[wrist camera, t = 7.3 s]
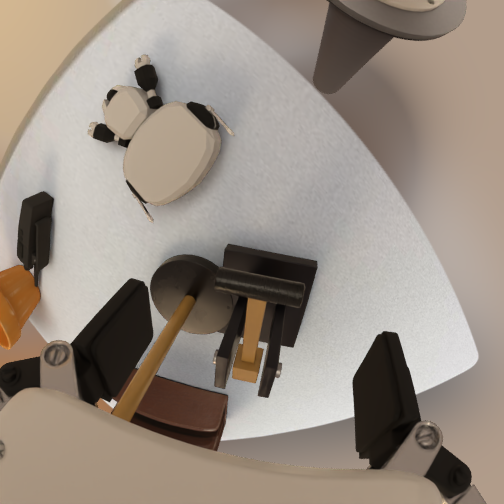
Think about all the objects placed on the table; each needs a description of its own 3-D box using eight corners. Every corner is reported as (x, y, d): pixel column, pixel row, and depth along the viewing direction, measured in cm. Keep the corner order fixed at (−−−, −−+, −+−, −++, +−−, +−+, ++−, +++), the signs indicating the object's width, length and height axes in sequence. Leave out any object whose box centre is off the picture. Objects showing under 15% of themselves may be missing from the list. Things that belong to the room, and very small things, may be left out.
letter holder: (226, 420, 48) (208, 480, 35) (135, 393, 50) (107, 443, 37) (229, 394, 43) (207, 464, 31) (126, 363, 45) (90, 419, 33)
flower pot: (60, 311, 43) (19, 352, 32) (31, 314, 47) (-3, 348, 36) (26, 245, 38) (-23, 279, 27) (2, 260, 42) (-37, 288, 31)
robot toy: (99, 132, 29) (172, 217, 31) (73, 134, 25) (151, 229, 27) (158, 53, 24) (249, 139, 26) (136, 43, 20) (237, 138, 22)
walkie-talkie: (16, 207, 27) (17, 302, 36) (55, 212, 31) (47, 303, 40) (23, 185, 30) (19, 277, 39) (57, 190, 34) (46, 279, 43)
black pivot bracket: (227, 243, 31) (186, 312, 20) (317, 260, 30) (321, 341, 19) (220, 325, 37) (189, 400, 25) (293, 340, 36) (286, 421, 24)
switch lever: (222, 255, 17) (210, 286, 15) (306, 272, 16) (303, 305, 14) (223, 353, 26) (217, 375, 24) (274, 364, 25) (270, 386, 24)
